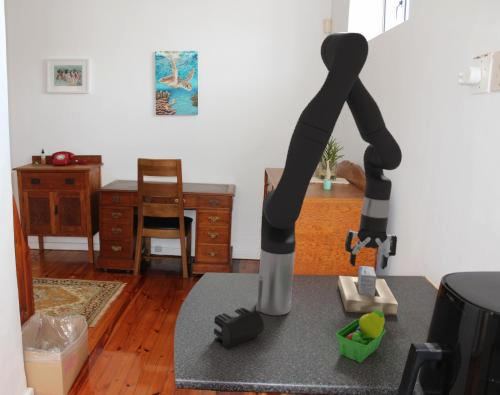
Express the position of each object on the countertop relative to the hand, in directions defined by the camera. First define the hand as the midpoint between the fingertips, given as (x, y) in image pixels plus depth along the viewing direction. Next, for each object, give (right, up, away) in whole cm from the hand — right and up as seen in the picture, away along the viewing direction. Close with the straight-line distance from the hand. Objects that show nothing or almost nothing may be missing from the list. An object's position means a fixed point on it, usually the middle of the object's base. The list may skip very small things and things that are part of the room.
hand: (367, 267), depth 133 cm
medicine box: (0, -10, +2) cm, 10 cm away
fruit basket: (-8, -16, -27) cm, 33 cm away
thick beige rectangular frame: (0, -10, +2) cm, 10 cm away
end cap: (-37, -14, -25) cm, 47 cm away
